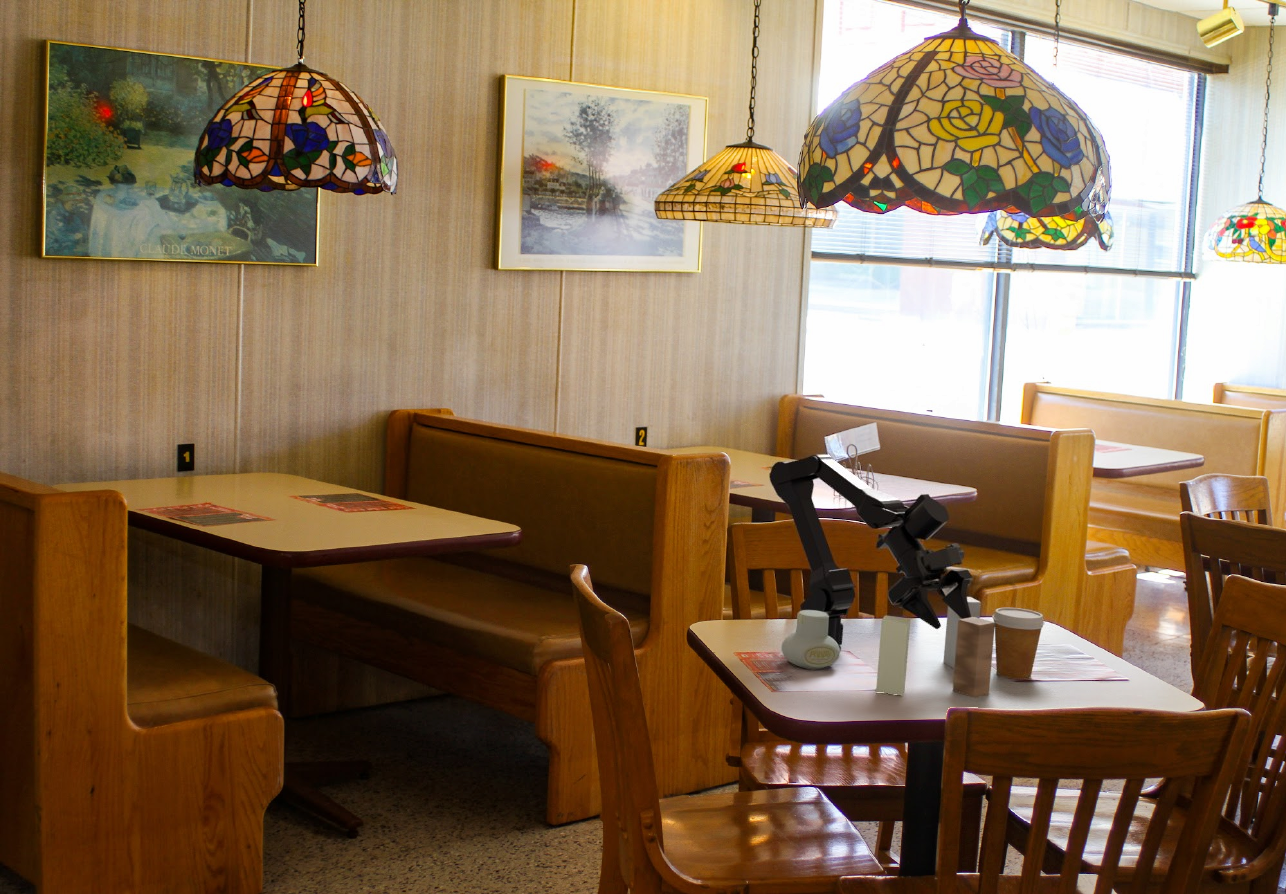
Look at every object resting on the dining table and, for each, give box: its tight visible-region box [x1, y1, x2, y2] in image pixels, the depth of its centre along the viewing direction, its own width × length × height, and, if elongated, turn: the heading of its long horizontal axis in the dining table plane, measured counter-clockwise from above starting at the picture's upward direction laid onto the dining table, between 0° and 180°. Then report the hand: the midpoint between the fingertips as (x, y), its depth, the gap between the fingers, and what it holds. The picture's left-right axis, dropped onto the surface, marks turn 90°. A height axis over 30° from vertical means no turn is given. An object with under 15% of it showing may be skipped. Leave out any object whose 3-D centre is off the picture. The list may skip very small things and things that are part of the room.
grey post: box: [942, 596, 982, 670], centre depth 244 cm, size 4×4×13 cm
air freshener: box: [781, 610, 841, 670], centre depth 238 cm, size 11×8×10 cm
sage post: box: [875, 615, 911, 697], centre depth 224 cm, size 4×4×13 cm
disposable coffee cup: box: [991, 607, 1046, 680], centre depth 240 cm, size 10×10×12 cm
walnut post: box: [952, 617, 995, 698], centre depth 226 cm, size 4×4×13 cm
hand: (954, 625), depth 229 cm, fingers open, 9 cm apart
